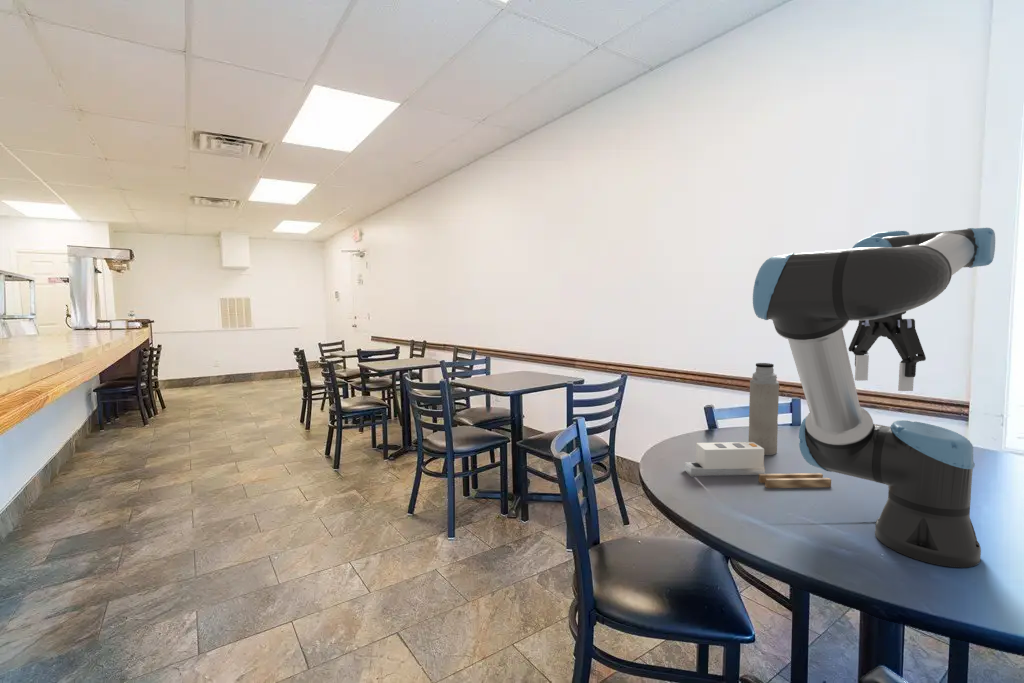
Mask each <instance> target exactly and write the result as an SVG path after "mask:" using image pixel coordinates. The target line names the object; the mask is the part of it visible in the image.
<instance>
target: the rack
mask: <svg viewBox="0 0 1024 683" xmlns="http://www.w3.org/2000/svg"><path fill="white" fill-rule="evenodd" d="M758 483H760V484H764V487H765V488H767V489H783V488H784V489H789V488H790V489H792V488H793V489H794V488H795V489H797V488H799V489H800V488H802V489H805V488H806V489H807V488H832V479H831V478H829V477H824V474H823V473H821V472H812V473H811V472H810V473H809V472H808V473H807V472H803V473H801V472H800V473H798V472H797V473H796V472H795V473H765V474H759V475H758Z"/></svg>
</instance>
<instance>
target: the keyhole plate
mask: <svg viewBox="0 0 1024 683" xmlns="http://www.w3.org/2000/svg"><path fill="white" fill-rule="evenodd" d="M684 471H685V472H686V474H687V475H688V476H690V478H696V477H697V476H698V477H699V476H701V477H703V476H759V474H766V467H765V466H764V468H746V469H704V468H703V467H702V466H700V465H699V464H698V463H697V462H696V461H693V462H692V461H689V462H687V461H685V462H684Z"/></svg>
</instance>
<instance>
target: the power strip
mask: <svg viewBox="0 0 1024 683" xmlns="http://www.w3.org/2000/svg"><path fill="white" fill-rule="evenodd" d="M695 462H697V463H698V464H699V465H700V466H702V467H703V468H704V469H746V468H764V467H765V455H764V448H762V447H760V446H759V445H757V444H756V443H754V442H749V441H745V442H744V441H736V442H735V441H734V442H733V441H731V442H730V441H729V442H728V441H727V442H726V441H725V442H722V441H721V442H696V443H695Z"/></svg>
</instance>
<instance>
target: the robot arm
mask: <svg viewBox="0 0 1024 683" xmlns="http://www.w3.org/2000/svg"><path fill="white" fill-rule="evenodd" d="M995 251H996V232H995V230H994V229H993V228H990V227H977V228H976V227H975V228H974V227H969V228H968V227H967V228H966V229H956V230H954V229H953V230H946V231H935V232H929V233H926V232H925V233H916V234H914V233H913V234H911V233H910V232H909V231H907V230H890V231H889V230H888V231H881V232H880V231H879V232H876V233H873V234H871V236H868V237H865V238H862V239H860V240H859V241H857V242H856V243H855V244H854V245H853V246H852V248H848V249H847V248H845V249H837V250H825V251H814V252H801V253H795V252H791V253H788V254H781V255H775V256H774V255H773V256H771V257H769V258H767V259H766V260H765V261H764V262H763V263H762V264H761V266H760V267H759V269H758V272H757V274H756V277H755V279H754V284H753V289H752V307H753V311H754V314H755V315H756V317H757V318H759V319H761V320H764V321H768V320H771V321H772V323H773V326H774V329H775V331H776V333H777V334H778V336H780V337H782V338H784V339H787V340H788V343H789V348H790V349H791V350H790V351H791V354H792V357H793V361H794V364H795V367H796V370H797V374H798V377H799V380H800V384H801V386H802V389H803V395H804V397H805V400H806V403H807V407H808V409H809V410H808V411H809V413H808V414H807V416H805V417H804V418H803V420H802V421H801V423H800V426H799V429H798V430H799V431H798V439H799V442H798V446H799V450H800V453H801V455H802V458H803V459H804V461H806V463H808V464H809V465H811V466H812V467H815V468H819V469H821V470H824V471H826V472H830V473H832V472H833V473H837V474H841V475H845V476H849V477H854V478H859V479H863V480H867V481H871V482H875V483H879V484H883V485H886V486H888V487H887V488H888V490H887V491H888V493H887V494H888V495H887V501H886V503H885V505H884V507H883V508H882V511H881V513H880V516H879V517H877V519H876V522H875V524H874V525H875V527H874V535H875V537H876V539H877V540H878V541H879V542H880V543H882V544H883V545H884V546H886V547H888V548H889V549H891V550H892V551H895V552H897V553H899V554H901V555H904V556H906V557H909V558H911V559H914V560H918V561H921V562H924V563H928V564H932V565H937V566H942V567H949V568H971V567H972V568H973V567H974V566H978V565H979V564H980V562H981V555H982V548H981V544H980V543H979V541H978V538H977V535H976V531H975V527H974V525H973V523H972V519H971V517H970V516H971V504H972V503H971V501H972V486H973V484H972V483H973V482H972V481H973V470H974V469H975V467H976V465H975V464H976V463H975V461H974V445H973V444H972V442H971V441H970V439H968V438H967V437H965V436H964V435H962V434H960V433H958V432H957V431H954V430H952V429H948V428H945V427H942V426H938V425H934V424H930V423H925V422H920V421H910V420H900V419H899V420H896V421H893V422H892V423H891V424H890V426H889V425H888V426H887V425H883V424H876V423H874V420H873V418H872V416H871V414H870V413H869V412H868V411H867V410H866V409H864V408H863V407H861V405H860V401H859V397H858V392H857V387H856V384H855V383H856V382H855V381H859V382H860V381H861V382H862V381H868V380H869V379H868V378H869V362H870V361H869V360H870V356H869V352H868V351H869V350H870V349H871V348H872V346H873V345H874V344H875V343H876V342H877V341H878V338H880V337H883V338H887V339H888V340H890V341H891V343H892V345H893V346H894V348H895V349H896V352H897V353H898V355H899V356H900V358H901V360H900V362H899V370H898V385H897V386H898V390H897V391H899V392H914V378H915V377H916V374H917V363H918V362H924V361H926V359H927V357H926V354H925V352H924V349H923V346H922V344H921V341H920V337H919V335H918V332H917V330H916V320H915V318H903V315H905V314H906V313H907V312H908V311H911V310H913V309H916V308H918V307H921V306H923V305H925V304H927V303H928V302H930V301H932V300H935V299H936V298H937V297H939V296H940V295H941V294H942V293H944V292H945V290H946V289H947V287H948V286H949V284H950V282H951V281H952V280H951V279H952V277H953V275H955V274H956V273H957V272H959V271H960V270H962V269H963V268H970V269H972V268H978V267H987V266H989V265H991V263H993V261H994V258H995ZM850 321H855V322H856V321H858V326H857V328H856V329H855V332H854V335H853V336H852V340H851V342H850V344H849V347H848V348H847V343H846V339H845V335H844V331H843V329H844V328H845V327H846V326H847V325H848V323H849V322H850ZM849 352H852V353H853V355H854V356H855V357H854V367H855V370H854V375H853V370H852V366H851V361H850V357H849Z"/></svg>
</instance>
